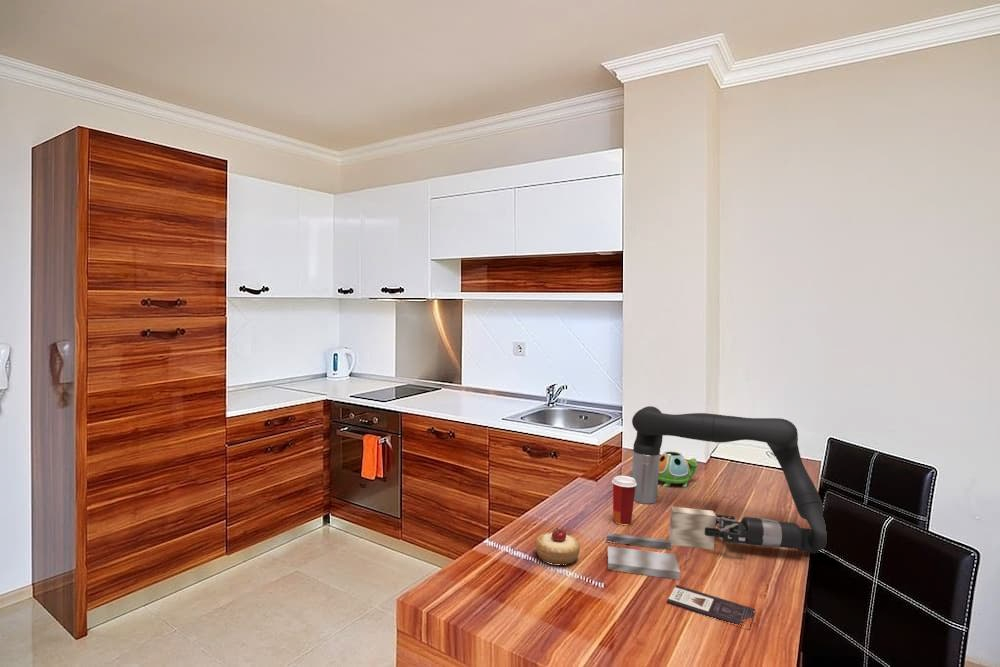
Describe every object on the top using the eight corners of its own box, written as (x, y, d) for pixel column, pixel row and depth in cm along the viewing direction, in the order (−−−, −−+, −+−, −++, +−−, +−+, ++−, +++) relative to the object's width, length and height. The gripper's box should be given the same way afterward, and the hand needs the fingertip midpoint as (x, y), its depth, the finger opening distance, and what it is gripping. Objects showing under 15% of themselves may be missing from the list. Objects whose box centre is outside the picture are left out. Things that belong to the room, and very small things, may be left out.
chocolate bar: (749, 628, 119) (666, 601, 129) (749, 632, 119) (666, 605, 129) (755, 609, 127) (676, 584, 136) (755, 613, 127) (676, 588, 136)
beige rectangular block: (670, 544, 160) (673, 511, 160) (669, 538, 164) (671, 506, 164) (713, 549, 158) (716, 516, 158) (710, 543, 162) (713, 510, 162)
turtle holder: (705, 487, 212) (708, 457, 211) (663, 489, 208) (665, 458, 207) (688, 476, 224) (689, 448, 223) (647, 478, 220) (649, 449, 219)
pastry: (587, 561, 149) (590, 529, 148) (559, 574, 141) (562, 540, 140) (553, 544, 158) (556, 514, 157) (525, 555, 149) (528, 523, 149)
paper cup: (636, 520, 177) (639, 477, 176) (631, 528, 170) (634, 484, 169) (612, 515, 181) (615, 473, 180) (606, 523, 174) (609, 480, 173)
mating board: (608, 570, 143) (608, 563, 143) (606, 539, 162) (607, 532, 162) (679, 579, 140) (680, 571, 140) (669, 546, 159) (670, 540, 159)
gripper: (755, 509, 164) (698, 503, 167) (769, 529, 150) (707, 522, 153) (753, 534, 165) (696, 527, 168) (767, 555, 151) (705, 548, 154)
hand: (702, 525), depth 160 cm, fingers open, 8 cm apart
